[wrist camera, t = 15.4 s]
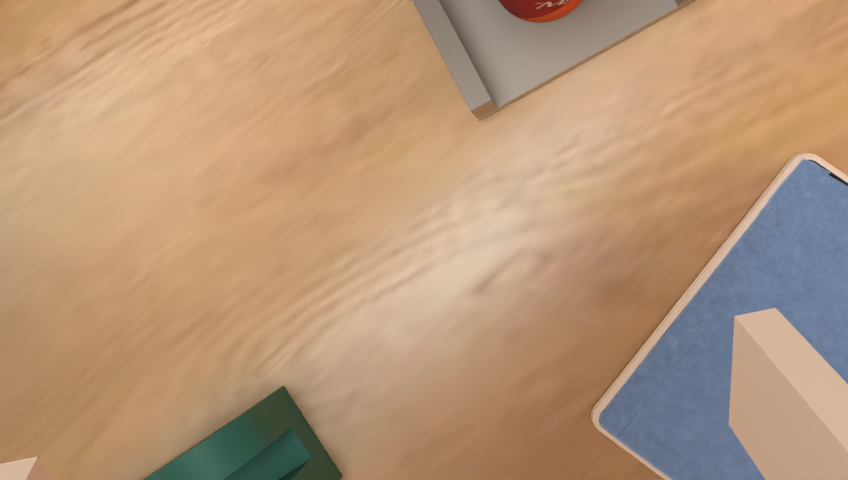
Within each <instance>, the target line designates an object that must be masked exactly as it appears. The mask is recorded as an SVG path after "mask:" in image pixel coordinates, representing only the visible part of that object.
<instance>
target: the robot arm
mask: <svg viewBox="0 0 848 480" xmlns="http://www.w3.org/2000/svg"><path fill="white" fill-rule="evenodd" d="M729 426H730V427H731V429H732V430H733V432H734V433H735V435H736V436H737V438H738V439H739V441H740V442H741V444H742V445H743V447H744V448H745V450H746V451H747V453H748V454H749V456H750V457H751V459H752V460H753V462H754V463H755V465H756V466H757V468H758V469H759V471H760V472H761V474H762V475H763V477H764V478H765V480H848V384H847V383H846V382H845V381H844V380H843V379H842V378H841V376H840V375H839V374H838V373H837V372H836V371H835V370H834V369H833V368H832V367H831V366H830V365H829V364H828V363H827V362H826V361H825V360H824V358H823V357H822V356H821V355H820V354H819V353H818V352H817V351H816V350H815V349H814V348H813V347H812V346H811V345H810V344H809V343H808V342H807V340H806V339H805V338H804V337H803V336H802V335H801V334H800V333H799V332H798V331H797V330H796V329H795V328H794V327H793V326H792V325H791V323H790V322H789V321H788V320H787V319H786V318H785V317H784V316H783V315H782V314H781V313H780V312H779V311H778V310H777V309H776V308H772V309H767V310H762V311H757V312H752V313H747V314H742V315H737V316H734V334H733V353H732V371H731V390H730V408H729ZM0 480H53V478H52V477H51V475H50V474H49V472H48V470H47V469H46V467H45V466H44V464H43V463H42V461H41V460H40V458H39V457H38V456H37V457H32V458H27V459H22V460H17V461H12V462H7V463H2V464H0Z"/></svg>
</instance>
